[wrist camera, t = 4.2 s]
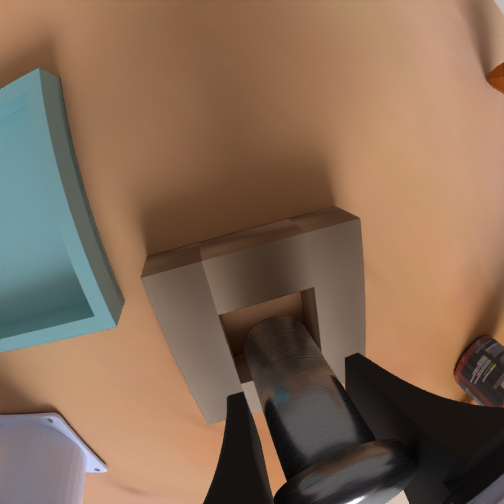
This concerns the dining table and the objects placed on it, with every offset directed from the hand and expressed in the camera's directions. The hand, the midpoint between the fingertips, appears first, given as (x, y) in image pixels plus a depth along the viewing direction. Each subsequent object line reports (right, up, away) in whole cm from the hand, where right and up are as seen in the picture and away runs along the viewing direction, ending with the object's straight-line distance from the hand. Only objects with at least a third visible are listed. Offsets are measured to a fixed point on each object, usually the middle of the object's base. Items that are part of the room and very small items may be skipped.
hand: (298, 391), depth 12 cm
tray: (-15, +7, +1) cm, 17 cm away
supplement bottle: (+21, -5, +13) cm, 25 cm away
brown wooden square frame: (-1, +2, +6) cm, 6 cm away
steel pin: (-1, +1, +3) cm, 3 cm away
